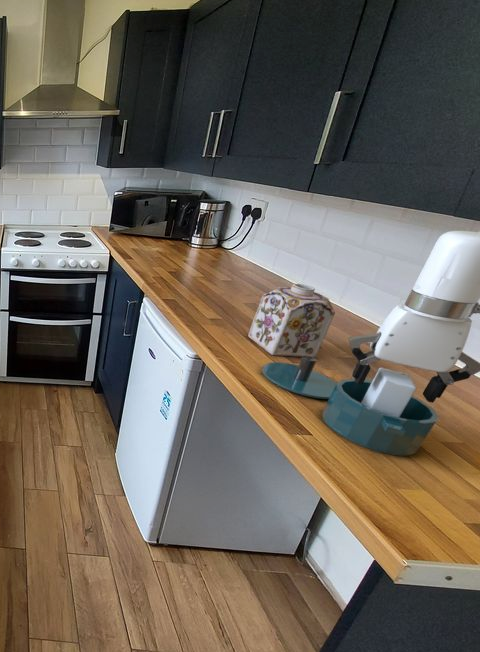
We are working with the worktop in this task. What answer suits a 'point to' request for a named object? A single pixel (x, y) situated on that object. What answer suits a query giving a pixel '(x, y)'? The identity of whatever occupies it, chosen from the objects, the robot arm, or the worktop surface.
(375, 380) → the cosmetic box
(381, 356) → the robot arm
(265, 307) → the decorative jar
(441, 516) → the worktop surface
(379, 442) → the pot
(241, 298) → the worktop surface
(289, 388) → the lid
